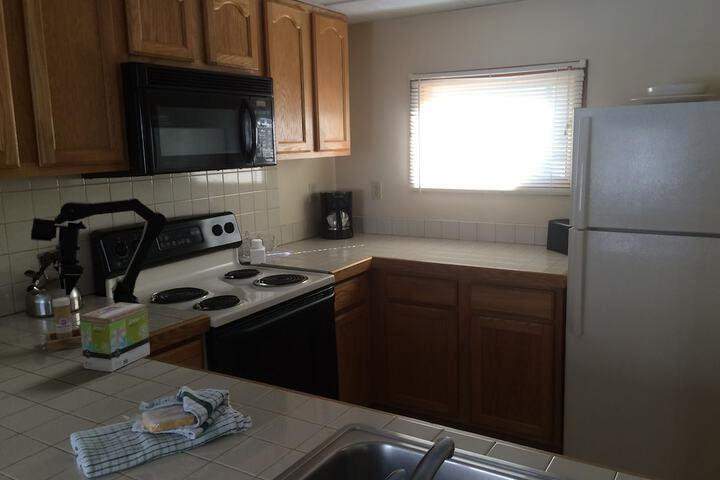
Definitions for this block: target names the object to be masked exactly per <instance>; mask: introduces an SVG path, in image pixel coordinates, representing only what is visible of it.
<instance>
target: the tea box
mask: <svg viewBox="0 0 720 480" xmlns="http://www.w3.org/2000/svg"><path fill="white" fill-rule="evenodd" d="M148 316H149V315H148V304H142V303H140V304H133V303H122V302H119V303H116V304H115V303H114V304H111V305H108V306H105V307H101V308H98V309H95V310H93V311H90V312H86V313H84V314H80V315H79V320H80V322H79V323H80V328H81V339H82V346H81V351H82V362H83V365H82V366H83V368H84V369H87V370H94V371H101V372H109V373H113V372H115V371H116V370H117V369H120V368H122V367H124V366H126V365H129V364H131V363H133V362H135V361H137V360H140V359H142V358H144V357H147V356H149V355H150V354H151V350H150V349H151V348H150V346H151V345H150V344H151V343H150V332H149V320H148Z"/></svg>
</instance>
